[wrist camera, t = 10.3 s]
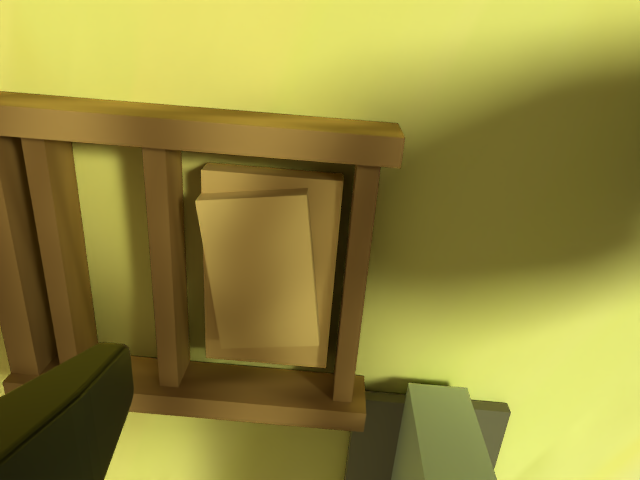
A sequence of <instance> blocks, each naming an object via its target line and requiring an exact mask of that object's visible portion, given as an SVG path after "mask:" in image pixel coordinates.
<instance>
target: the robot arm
mask: <svg viewBox="0 0 640 480" xmlns="http://www.w3.org/2000/svg"><path fill="white" fill-rule="evenodd" d="M133 394H134V383H133V373H132V363H131V354H130V350H129V348H128V347H127V346H126V345H125V344H117V343H106V342H102V343H98V344H96V345H94V346H92V347H90V348H89V349H87V350H85V351H83V352H81V353H80V354H78V355H76V356H74V357H72V358H70V359H69V360H67V361H65V362H63V363H61V364H60V365H58V366H56V367H54V368H52V369H50V370H49V371H47V372H45V373H43V374H41V375H40V376H38V377H36V378H34V379H32V380H30V381H29V382H27V383H25V384H23V385H21V386H20V387H18V388H16V389H14V390H12V391H10V392H9V393H7V394H5V395H3V396H1V397H0V480H104V478H105V476H106V473H107V470H108V467H109V465H110V462H111V459H112V456H113V453H114V451H115V448H116V445H117V442H118V440H119V437H120V434H121V431H122V428H123V426H124V423H125V420H126V417H127V415H128V412H129V409H130V406H131V403H132V399H133Z"/></svg>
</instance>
